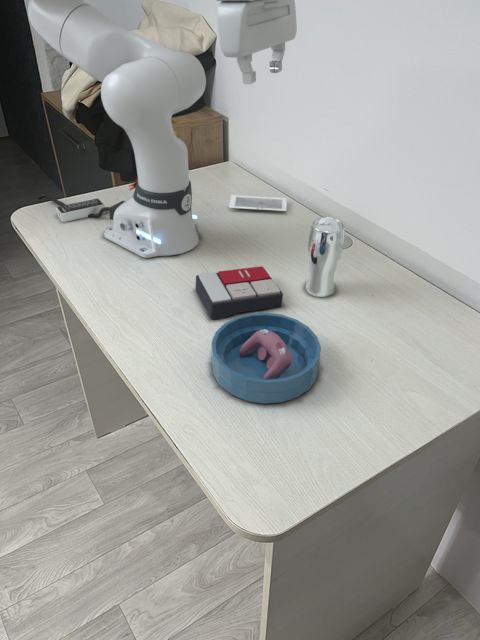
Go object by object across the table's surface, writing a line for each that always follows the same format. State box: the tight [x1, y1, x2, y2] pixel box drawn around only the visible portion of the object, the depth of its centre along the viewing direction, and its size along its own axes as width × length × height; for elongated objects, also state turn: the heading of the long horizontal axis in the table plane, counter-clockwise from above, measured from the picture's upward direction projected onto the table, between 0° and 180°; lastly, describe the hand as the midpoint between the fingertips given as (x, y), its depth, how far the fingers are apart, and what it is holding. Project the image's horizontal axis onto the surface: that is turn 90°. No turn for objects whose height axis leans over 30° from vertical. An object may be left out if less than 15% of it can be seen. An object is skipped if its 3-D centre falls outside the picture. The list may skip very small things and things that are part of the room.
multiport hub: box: [55, 198, 106, 223], centre depth 135 cm, size 4×11×2 cm, turn 123°
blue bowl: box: [211, 312, 322, 404], centre depth 93 cm, size 18×18×5 cm
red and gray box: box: [195, 265, 284, 320], centre depth 109 cm, size 11×4×15 cm
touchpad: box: [228, 194, 288, 212], centre depth 143 cm, size 8×15×2 cm, turn 88°
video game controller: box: [239, 330, 292, 380], centre depth 93 cm, size 10×5×7 cm, turn 30°
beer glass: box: [305, 216, 346, 298], centre depth 110 cm, size 7×7×15 cm
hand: (263, 77), depth 94 cm, fingers open, 8 cm apart
